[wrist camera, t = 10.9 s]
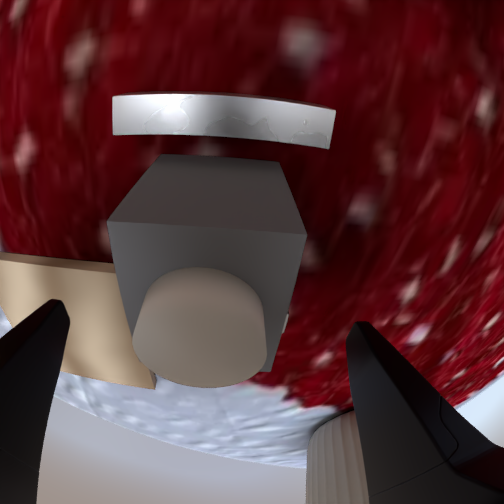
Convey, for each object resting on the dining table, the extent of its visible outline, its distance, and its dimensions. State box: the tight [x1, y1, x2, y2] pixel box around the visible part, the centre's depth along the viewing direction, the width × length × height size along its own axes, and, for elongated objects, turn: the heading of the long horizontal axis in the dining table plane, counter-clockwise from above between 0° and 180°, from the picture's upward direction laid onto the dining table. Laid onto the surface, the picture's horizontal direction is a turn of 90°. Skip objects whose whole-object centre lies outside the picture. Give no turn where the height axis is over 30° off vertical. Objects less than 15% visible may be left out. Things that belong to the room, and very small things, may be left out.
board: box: [0, 252, 156, 389], centre depth 17 cm, size 12×12×1 cm
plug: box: [107, 154, 307, 388], centre depth 10 cm, size 5×6×8 cm
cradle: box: [113, 91, 336, 333], centre depth 12 cm, size 24×12×2 cm, turn 84°
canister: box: [306, 410, 369, 504], centre depth 20 cm, size 18×18×21 cm
